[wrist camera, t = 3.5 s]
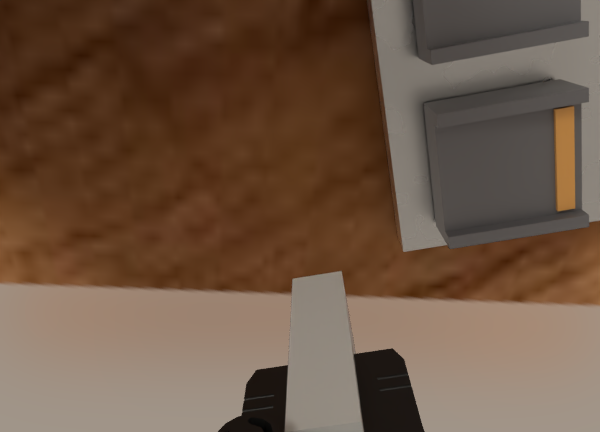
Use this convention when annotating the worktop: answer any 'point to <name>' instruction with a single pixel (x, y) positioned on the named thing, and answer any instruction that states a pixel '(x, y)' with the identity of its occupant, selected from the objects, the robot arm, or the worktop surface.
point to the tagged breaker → (507, 162)
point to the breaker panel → (462, 82)
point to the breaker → (492, 26)
